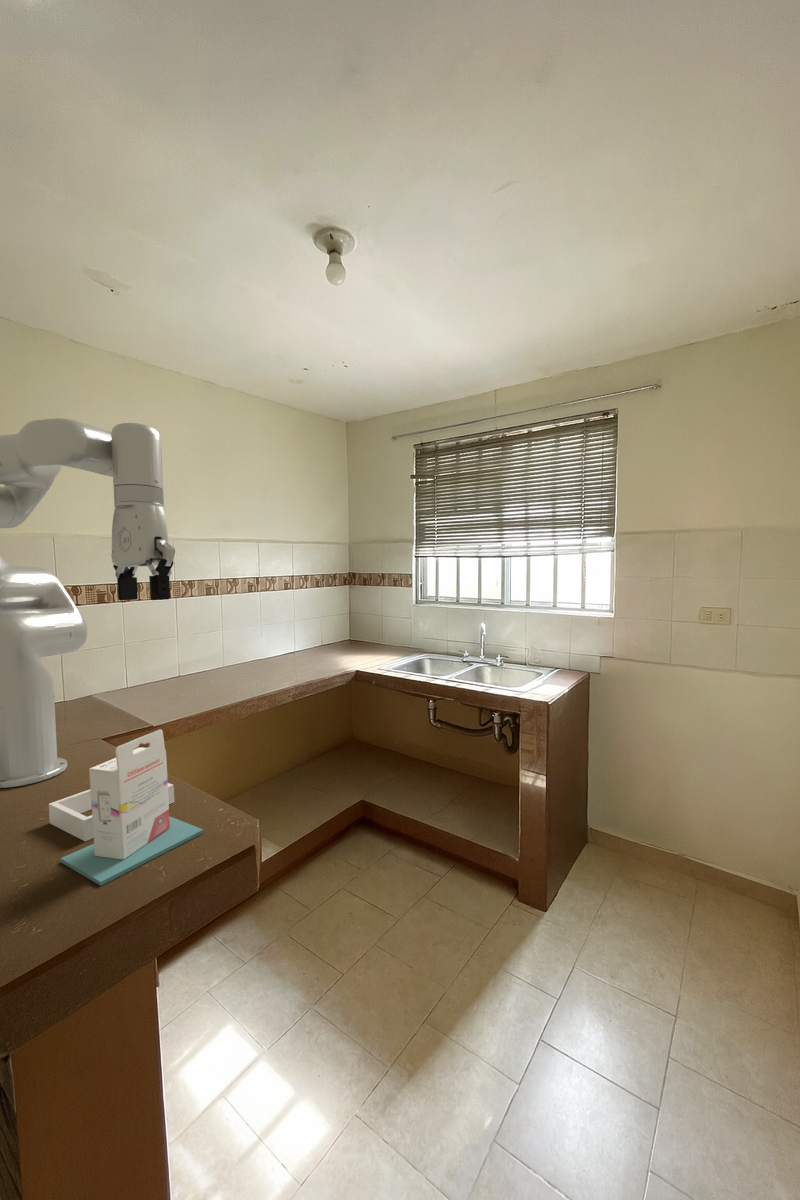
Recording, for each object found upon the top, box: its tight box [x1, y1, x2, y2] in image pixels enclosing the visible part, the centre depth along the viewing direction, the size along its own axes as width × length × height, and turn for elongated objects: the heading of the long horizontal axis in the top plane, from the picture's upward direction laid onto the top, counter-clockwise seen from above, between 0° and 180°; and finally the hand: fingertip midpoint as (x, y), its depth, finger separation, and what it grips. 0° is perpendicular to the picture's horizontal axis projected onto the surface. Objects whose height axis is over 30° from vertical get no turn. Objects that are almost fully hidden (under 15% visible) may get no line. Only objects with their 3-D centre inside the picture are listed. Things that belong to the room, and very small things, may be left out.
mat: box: [60, 815, 204, 887], centre depth 66 cm, size 10×14×1 cm
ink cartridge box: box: [88, 729, 170, 860], centre depth 66 cm, size 9×5×15 cm, turn 164°
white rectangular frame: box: [48, 782, 175, 842], centre depth 77 cm, size 11×14×3 cm
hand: (143, 599), depth 84 cm, fingers open, 9 cm apart
